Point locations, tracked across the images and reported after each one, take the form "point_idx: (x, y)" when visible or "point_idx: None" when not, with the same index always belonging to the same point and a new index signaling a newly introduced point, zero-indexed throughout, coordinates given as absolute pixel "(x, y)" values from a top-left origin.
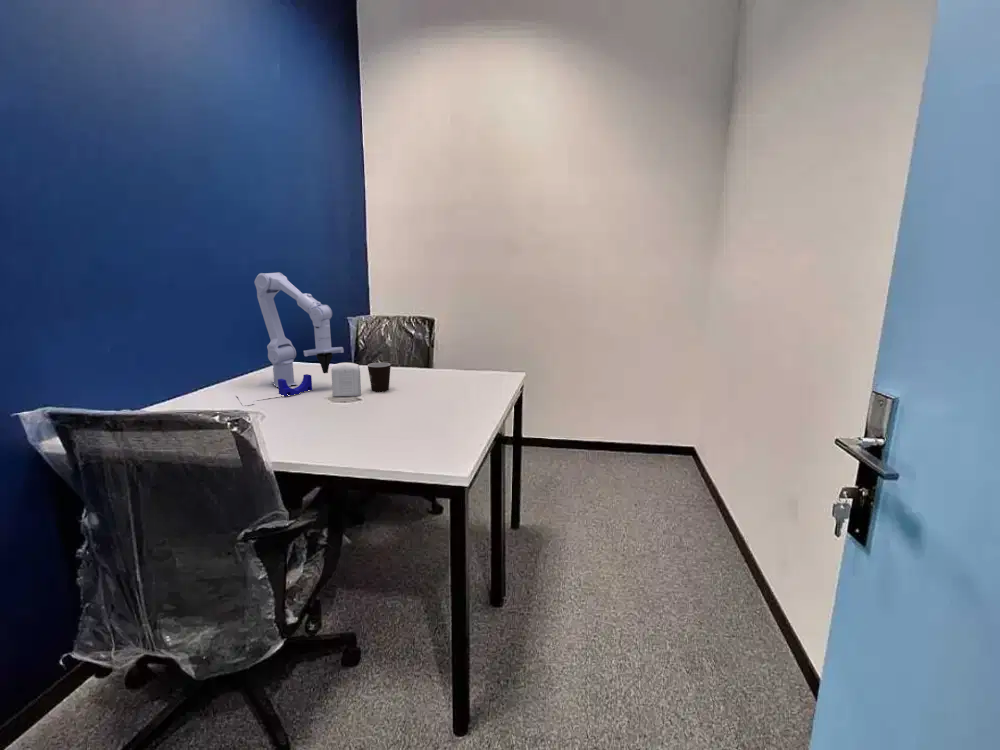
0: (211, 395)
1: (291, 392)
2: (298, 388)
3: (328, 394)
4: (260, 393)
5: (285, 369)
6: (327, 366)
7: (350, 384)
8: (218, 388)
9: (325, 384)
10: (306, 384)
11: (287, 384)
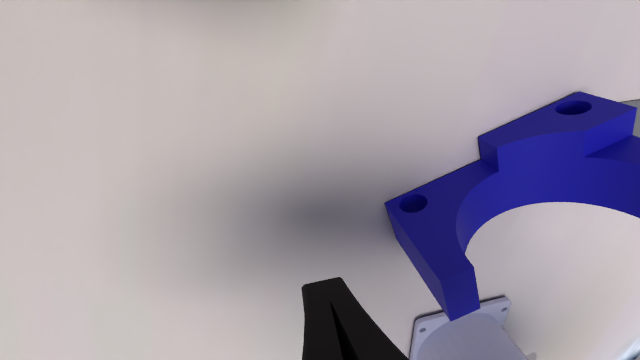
0: None
1: (557, 118)
2: (486, 194)
3: (312, 36)
4: (598, 231)
5: None
6: (324, 348)
7: None
8: (633, 333)
9: (275, 315)
10: (448, 214)
11: (464, 319)
